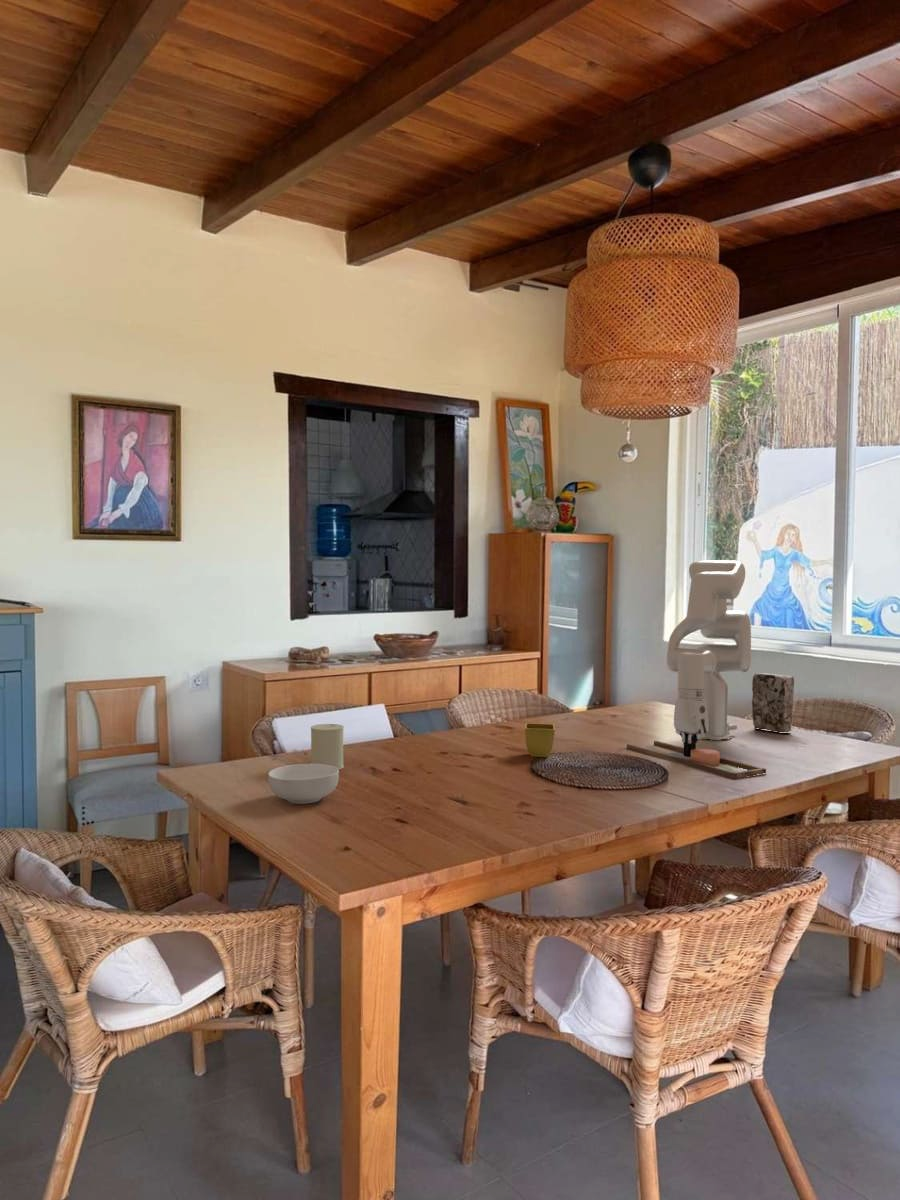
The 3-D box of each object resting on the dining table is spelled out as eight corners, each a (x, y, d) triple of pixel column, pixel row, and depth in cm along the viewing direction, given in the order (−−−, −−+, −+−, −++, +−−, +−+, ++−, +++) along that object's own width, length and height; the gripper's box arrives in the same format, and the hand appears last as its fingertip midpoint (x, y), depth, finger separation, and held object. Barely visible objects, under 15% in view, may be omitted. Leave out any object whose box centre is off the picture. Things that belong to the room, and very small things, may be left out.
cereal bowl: (307, 787, 226) (307, 759, 226) (353, 798, 215) (353, 769, 215) (253, 800, 213) (253, 771, 212) (299, 813, 202) (299, 782, 202)
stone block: (794, 733, 304) (795, 675, 303) (784, 735, 299) (785, 676, 299) (758, 727, 314) (759, 671, 313) (748, 730, 309) (749, 673, 308)
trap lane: (656, 745, 282) (656, 740, 282) (765, 774, 243) (766, 768, 243) (626, 748, 276) (626, 744, 276) (734, 779, 237) (734, 773, 237)
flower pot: (554, 753, 269) (554, 723, 269) (554, 759, 260) (555, 729, 260) (525, 752, 270) (525, 723, 269) (524, 758, 261) (524, 728, 261)
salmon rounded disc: (702, 759, 261) (703, 747, 260) (725, 764, 254) (725, 752, 254) (684, 762, 256) (684, 750, 256) (707, 768, 249) (707, 755, 249)
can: (350, 766, 250) (350, 723, 249) (332, 772, 241) (332, 729, 241) (322, 762, 254) (322, 721, 253) (304, 769, 245) (304, 726, 245)
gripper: (719, 696, 255) (717, 760, 255) (682, 690, 268) (681, 750, 269) (699, 698, 251) (698, 762, 252) (663, 691, 264) (662, 752, 265)
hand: (689, 756), depth 260 cm, fingers closed
